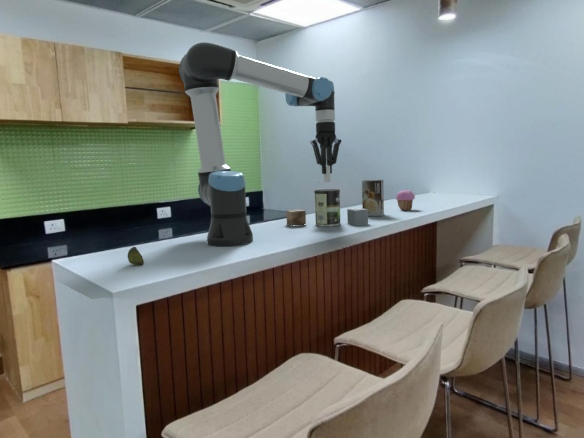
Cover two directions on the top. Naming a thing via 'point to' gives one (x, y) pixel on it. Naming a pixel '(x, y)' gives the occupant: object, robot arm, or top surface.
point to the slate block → (357, 216)
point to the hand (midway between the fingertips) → (327, 182)
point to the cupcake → (405, 199)
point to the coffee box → (373, 197)
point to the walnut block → (296, 217)
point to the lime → (135, 256)
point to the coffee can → (327, 207)
